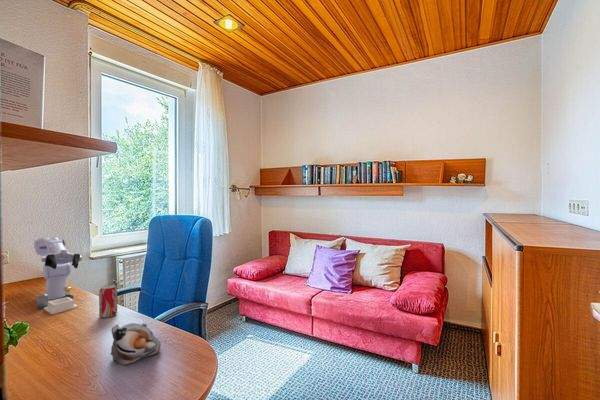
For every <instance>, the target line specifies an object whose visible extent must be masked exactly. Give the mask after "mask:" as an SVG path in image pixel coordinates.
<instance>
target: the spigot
mask: <svg viewBox="0 0 600 400" xmlns="http://www.w3.org/2000/svg"><path fill="white" fill-rule="evenodd" d="M48 301H50V299H49V294H46V293H40V294H37V295H36V309H37V310H44V308H45V307H48Z"/></svg>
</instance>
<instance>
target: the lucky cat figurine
mask: <svg viewBox="0 0 600 400" xmlns="http://www.w3.org/2000/svg"><path fill="white" fill-rule="evenodd" d="M111 335H112V339H113V341H112V345H111V348H110V351H111V352H110V355H111V356H112V360H113V362H114V363H116V364H119V365H122V366H127V365H128V364H131V363H135V362H136V361H138V360H140V359H143V358H144V359H145V358H147V357H151V356H152V355H156V354H158V352H159V353H160V350H161V349H160V348H161V340H160V339H158V338H157V337H156V336H155V335H154V333H153V331H152V330H151V329H150V328H149V327H148V325H147V323H142V324H140V323H136V322H132V323H131V322H130V323H127V324H124V325H123V326H122V327H120V326H119V325H118V324H117V325H114V326H112V327H111Z"/></svg>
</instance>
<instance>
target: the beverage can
mask: <svg viewBox="0 0 600 400" xmlns="http://www.w3.org/2000/svg"><path fill="white" fill-rule="evenodd" d="M98 305H99V307H98V310H99V311H98V314H99V317H101V318H103V319H105V318H108V319H109V318H111V317H114V316H115V315H116V314H118V289H117V287H116V285H115V284H107V285H106V284H105V285H103V286H101V287H100V289H99V291H98Z"/></svg>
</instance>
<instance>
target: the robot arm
mask: <svg viewBox="0 0 600 400" xmlns="http://www.w3.org/2000/svg"><path fill="white" fill-rule="evenodd" d="M65 241H66V240H65V239H62V238H61V239H59V237H56V236H51V237H43V238H42V237H41V238H36V239H35V240H34V242H33V244H34V245H33V246H34V247H33V248H34V252H35V253H36V254H37V255H39V256H41V259H40V261H41V262H42V263H44V264H43V267H42V274H43V279H45V280H46V281H45V294H49V301H52V300H56V299H60V298H62V296H65V290H63V288H64V287H68V284H67V281H68V280H67V279H68V276H70V275H71V272H72V271H71V270H72V269H71V266H73V268H74V269H78V267H79V262H81V261H82V260H83V256H82V255H81V254H80V253H71V252H68V250H67V248H66V242H65ZM70 263H71V264H70Z"/></svg>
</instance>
